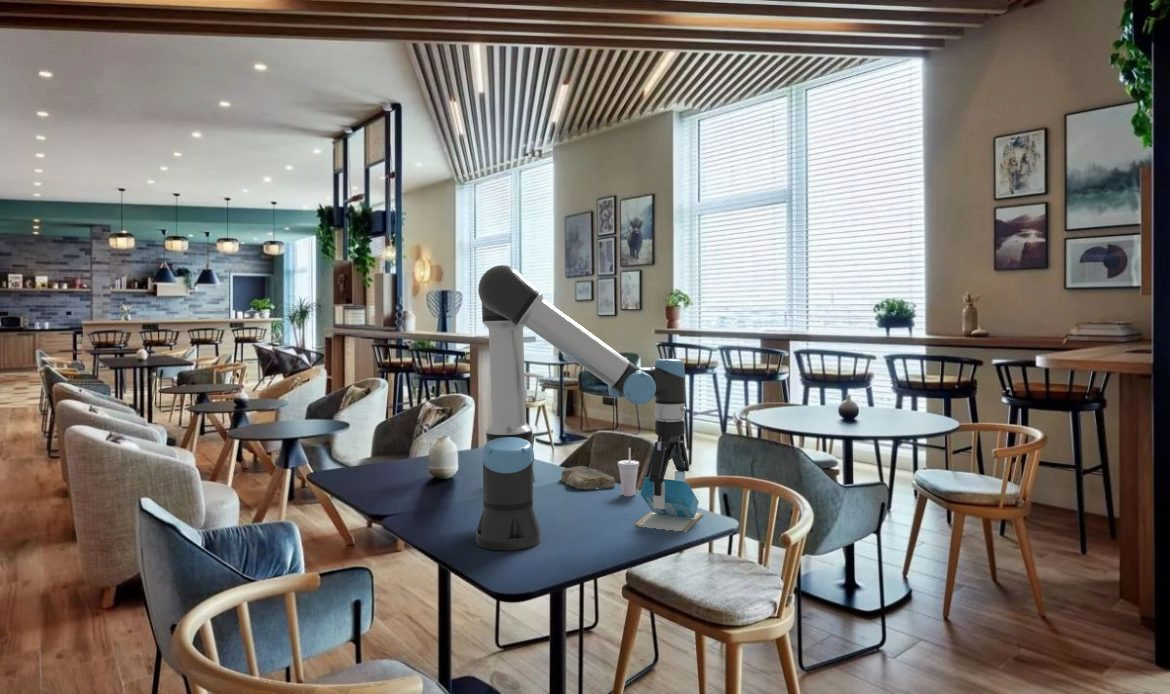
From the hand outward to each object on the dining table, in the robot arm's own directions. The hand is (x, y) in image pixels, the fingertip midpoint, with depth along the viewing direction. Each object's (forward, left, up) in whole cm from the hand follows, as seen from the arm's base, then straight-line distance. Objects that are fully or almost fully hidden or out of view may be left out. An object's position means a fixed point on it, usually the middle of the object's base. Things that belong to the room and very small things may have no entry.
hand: (669, 502), depth 185 cm
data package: (-1, -6, +1) cm, 7 cm away
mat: (0, 0, -5) cm, 5 cm away
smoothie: (+21, +19, -5) cm, 29 cm away
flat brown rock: (+30, +38, -5) cm, 49 cm away
